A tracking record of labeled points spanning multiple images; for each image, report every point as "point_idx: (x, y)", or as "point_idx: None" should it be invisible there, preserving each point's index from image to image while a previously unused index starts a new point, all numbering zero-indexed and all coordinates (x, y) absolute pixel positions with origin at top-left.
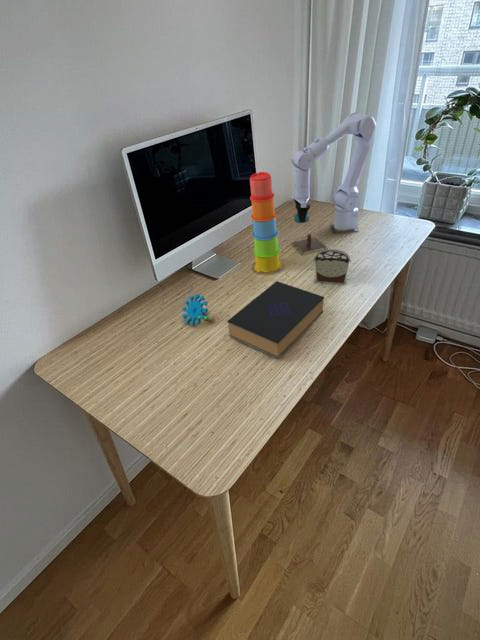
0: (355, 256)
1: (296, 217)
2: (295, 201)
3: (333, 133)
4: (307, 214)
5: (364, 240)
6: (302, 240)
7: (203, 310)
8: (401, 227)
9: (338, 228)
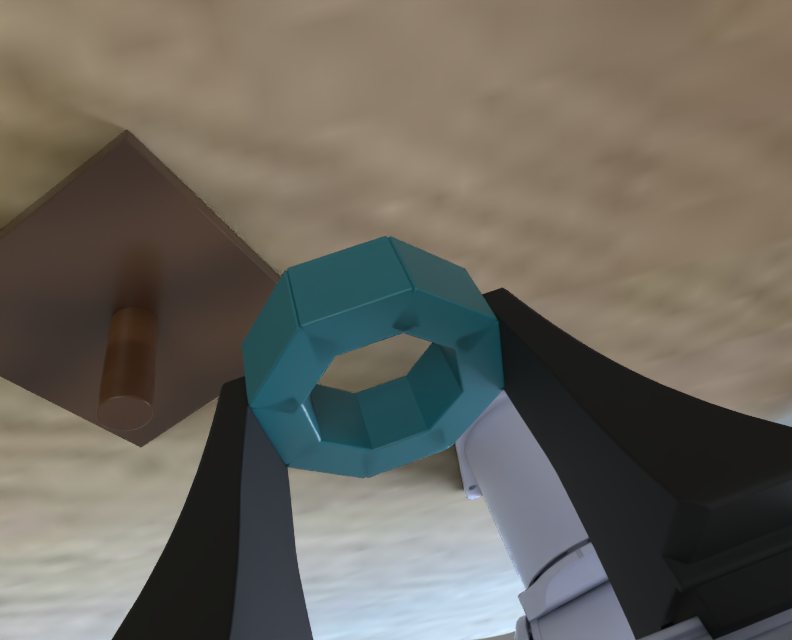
0: (105, 577)
1: (293, 356)
2: (650, 484)
3: None
4: (432, 448)
5: (347, 545)
6: (219, 240)
7: None
8: (503, 591)
9: (480, 437)
